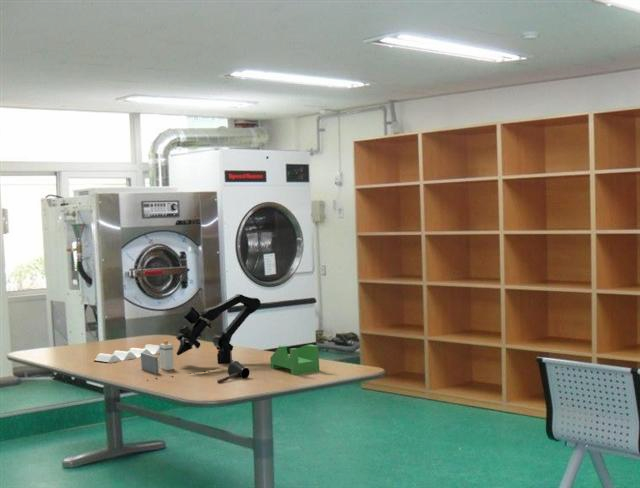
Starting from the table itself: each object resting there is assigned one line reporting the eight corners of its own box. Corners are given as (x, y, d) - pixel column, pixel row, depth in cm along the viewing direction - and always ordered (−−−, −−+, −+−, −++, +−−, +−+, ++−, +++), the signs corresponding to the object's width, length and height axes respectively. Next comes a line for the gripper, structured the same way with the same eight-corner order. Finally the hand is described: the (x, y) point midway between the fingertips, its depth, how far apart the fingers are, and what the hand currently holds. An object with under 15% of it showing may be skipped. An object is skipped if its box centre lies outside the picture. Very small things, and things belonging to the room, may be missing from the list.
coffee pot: (240, 374, 391) (252, 378, 385) (209, 385, 379) (220, 390, 373) (239, 358, 389) (251, 363, 383) (207, 370, 378) (219, 374, 371)
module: (168, 367, 417) (166, 339, 417) (174, 369, 411) (172, 340, 410) (160, 368, 415) (159, 340, 414) (166, 370, 409) (164, 341, 408)
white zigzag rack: (93, 362, 456) (92, 353, 455) (146, 353, 481) (146, 344, 481) (106, 364, 447) (106, 355, 447) (160, 354, 472) (160, 345, 472)
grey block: (167, 367, 423) (166, 349, 423) (183, 372, 406) (181, 353, 406) (141, 371, 416) (140, 352, 416) (156, 376, 399) (155, 357, 399)
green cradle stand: (319, 371, 390) (318, 345, 389) (293, 375, 383) (292, 349, 383) (295, 365, 411) (294, 340, 410) (270, 369, 404) (269, 344, 404)
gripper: (178, 318, 426) (158, 342, 420) (193, 321, 410) (172, 346, 404) (194, 332, 430) (174, 356, 425) (208, 335, 414) (189, 360, 409)
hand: (177, 354), depth 416 cm, fingers closed
